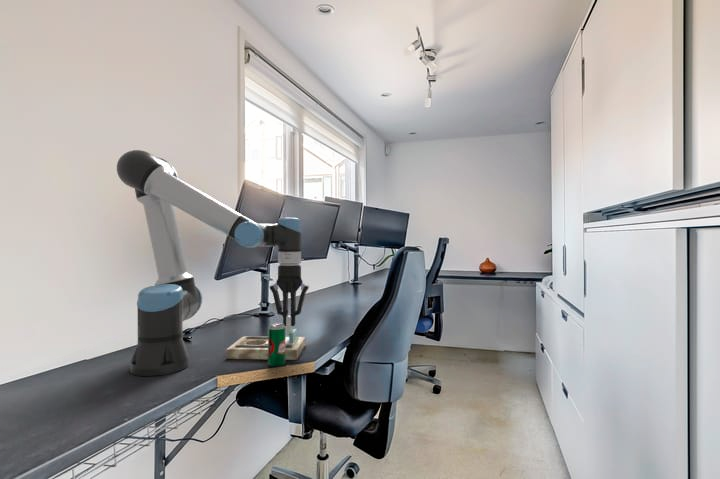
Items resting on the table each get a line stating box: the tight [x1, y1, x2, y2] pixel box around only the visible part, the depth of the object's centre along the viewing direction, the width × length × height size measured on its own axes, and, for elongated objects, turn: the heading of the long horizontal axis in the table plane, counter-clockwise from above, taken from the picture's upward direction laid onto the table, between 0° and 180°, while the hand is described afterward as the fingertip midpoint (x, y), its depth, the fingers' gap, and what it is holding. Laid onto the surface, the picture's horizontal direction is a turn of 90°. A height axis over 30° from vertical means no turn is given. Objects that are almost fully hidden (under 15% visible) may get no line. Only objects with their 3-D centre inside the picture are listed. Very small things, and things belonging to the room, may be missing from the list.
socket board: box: [226, 335, 306, 361], centre depth 130 cm, size 22×16×4 cm
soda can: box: [267, 322, 286, 368], centre depth 117 cm, size 5×5×12 cm
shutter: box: [265, 328, 299, 347], centre depth 130 cm, size 9×9×4 cm
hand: (289, 335), depth 129 cm, fingers closed
